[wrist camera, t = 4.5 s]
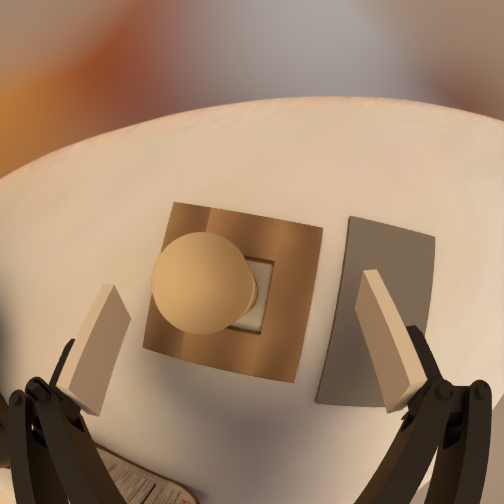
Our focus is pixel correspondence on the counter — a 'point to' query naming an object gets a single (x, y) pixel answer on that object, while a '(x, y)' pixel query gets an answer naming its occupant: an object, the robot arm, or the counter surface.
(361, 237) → the mat
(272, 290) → the slot block
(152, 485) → the tin
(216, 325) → the peg
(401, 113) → the counter surface
